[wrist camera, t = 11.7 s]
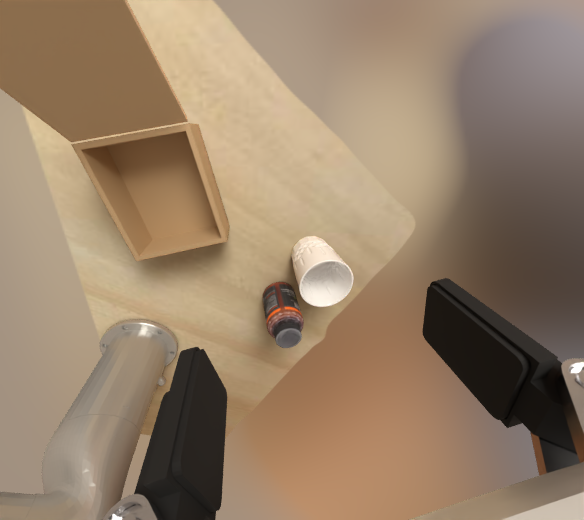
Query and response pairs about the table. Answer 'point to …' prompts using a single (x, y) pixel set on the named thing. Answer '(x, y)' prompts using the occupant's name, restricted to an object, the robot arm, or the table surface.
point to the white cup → (320, 272)
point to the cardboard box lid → (83, 67)
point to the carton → (158, 189)
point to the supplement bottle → (283, 314)
